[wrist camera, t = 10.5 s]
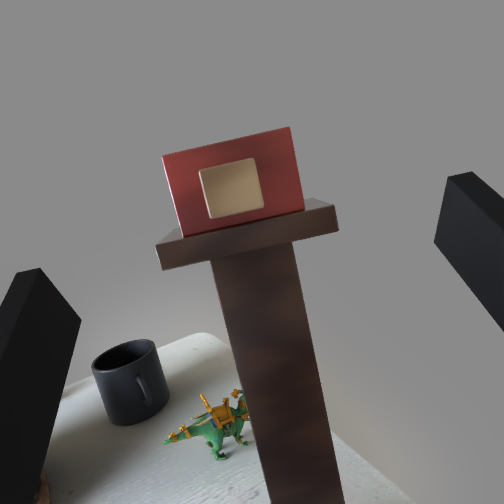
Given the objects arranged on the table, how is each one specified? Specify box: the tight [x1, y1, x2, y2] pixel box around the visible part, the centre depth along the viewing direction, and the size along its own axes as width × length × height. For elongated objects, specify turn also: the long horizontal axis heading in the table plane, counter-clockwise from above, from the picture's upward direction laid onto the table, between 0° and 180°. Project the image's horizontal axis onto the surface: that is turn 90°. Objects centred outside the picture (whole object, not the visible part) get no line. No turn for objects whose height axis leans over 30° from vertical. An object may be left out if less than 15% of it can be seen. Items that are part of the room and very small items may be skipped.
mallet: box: [162, 127, 305, 237], centre depth 18 cm, size 7×13×4 cm, turn 2°
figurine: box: [162, 389, 250, 461], centre depth 43 cm, size 3×12×8 cm, turn 117°
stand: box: [155, 198, 345, 504], centre depth 26 cm, size 10×7×28 cm
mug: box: [91, 339, 169, 425], centre depth 56 cm, size 9×12×9 cm
